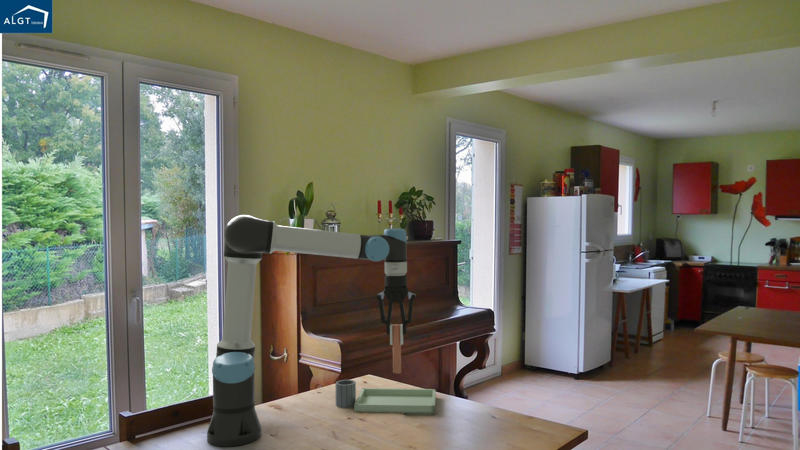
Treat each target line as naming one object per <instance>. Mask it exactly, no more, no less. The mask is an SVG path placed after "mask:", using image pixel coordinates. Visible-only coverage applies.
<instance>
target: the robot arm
mask: <svg viewBox="0 0 800 450" xmlns="http://www.w3.org/2000/svg"><path fill="white" fill-rule="evenodd" d="M407 243H408V240H407V231H406V229H404V228H385V229H384V230H383V234H378V235H377V234H370V235H368V234H356V233H351V232H350V233H349V232H341V231H340V232H338V231H330V230H321V229H315V228H303V227H295V226H286V225H278V224H277V223H276V222H275V221H271V220H264V219H260V218H257V217H254V216H252V215H249V214H240V215H237V216H235V217H233V218H232V219H231V220H229V221H228V223H227V224H226V226H225V228H224V248H223V258H224V259H225V261H227V274H226V289H225V302H224V304H225V305H224V317H223V330H222V339H220V341H219V342H217V344H216V353H215V354H216V355H215V359H214V360H213V362H212V368H211V373H212V404H213V405H212V409H213V410H212V416H211V418H210V423H209V424H208V427H207V431H206V440H207V442H208V443H209V444H210V445H213V446H216V447H222V448H223V447H224V448H225V447H226V448H227V447H229V448H230V447H239V446H242V445H243V446H244V445H247V444H250V443H252V442H255V441H257V440H258V439H259V438H261V436H262V426H261V422H260V420H259V417H258V413H257V412H256V405H255V400H256V399H255V395H256V394H255V391H256V390H255V387H256V385H255V370H256V363H255V355H256V343H254V341H253V340H252V330H253V329H252V328H253V316H254V314H253V313H254V304H255V290H256V289H255V287H256V276H257V264H258V263H259V262H260V261H261V260H262V259H263V254H270V255H271V254H272V253H274V252H276V251H277V252H284V253H295V254H303V255H304V254H306V255H317V256H326V257H337V258H338V257H339V258H347V259H356V260H357V259H358V260H364V261H365V260H366V261H371V262H381V261H383V260H384V274H385V276H384V289H383V291H382V292H380V293H377V294H376V299H377V300H378V306H379V314H380V323H382V324H384V325H385V326H386V334H387V335H389V345H390V346H393V331H392V325H394V324H392V323H391V321H392V315H393V309H394V308H393V307H394V306H393V305H394V303H398V305H399V312H400V317H401V324H399V325H400V345H401V346H402V345H404V335H405V336H406V334H407V325H408V324H411V323H412V319H413V309H414V300H415V298H416V295H417V294H416V293H412V292H411V291H410V290H409V289H408V276H407V273H408V261H407V260H408V259H407V258H408V257H407V249H408V247H407V246H408V245H407ZM407 296H408V300H409V302H408V303H409V304H408V312H407V317H406V311H405V306H404V300H405V299H406V297H407ZM385 297H386V299H387V300H388V308H387V309H388V310H387V315H386V314H385V305H384V304H385V303H384V298H385Z"/></svg>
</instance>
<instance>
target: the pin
mask: <svg viewBox="0 0 800 450" xmlns="http://www.w3.org/2000/svg"><path fill="white" fill-rule="evenodd" d="M400 325H401V324H398V323H397V324H395V323H394V324H393V325H392V331H393V345H392V373H393V374H397V375H398V374H402V345H400Z"/></svg>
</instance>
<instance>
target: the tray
mask: <svg viewBox="0 0 800 450" xmlns="http://www.w3.org/2000/svg"><path fill="white" fill-rule="evenodd" d="M436 391H437V390H436V389H435V388H433V389H432V388H384V387H383V388H382V387H381V388H379V387H378V388H377V387H376V388H375V387H370V388H369V387H362V388H361V390H360V392H359V394H358V396H357V397H356V402H355V404H354V406H353V409H354V413H396V414H397V413H398V414H401V413H402V414H403V415H408V416H409V415H414V416H415V415H416V416H417V415H419V416H422V415H423V416H424V415H425V416H435V415H436V398H437V397H436Z"/></svg>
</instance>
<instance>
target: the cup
mask: <svg viewBox="0 0 800 450" xmlns="http://www.w3.org/2000/svg"><path fill="white" fill-rule="evenodd" d="M356 389H357V381H355V380H353V379H341V380H338V381H337V380H336V382H335V406H336V407H337V408H343V409H347V408H352V407H353V408H354V404H355V402H356V400H357V390H356Z"/></svg>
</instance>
